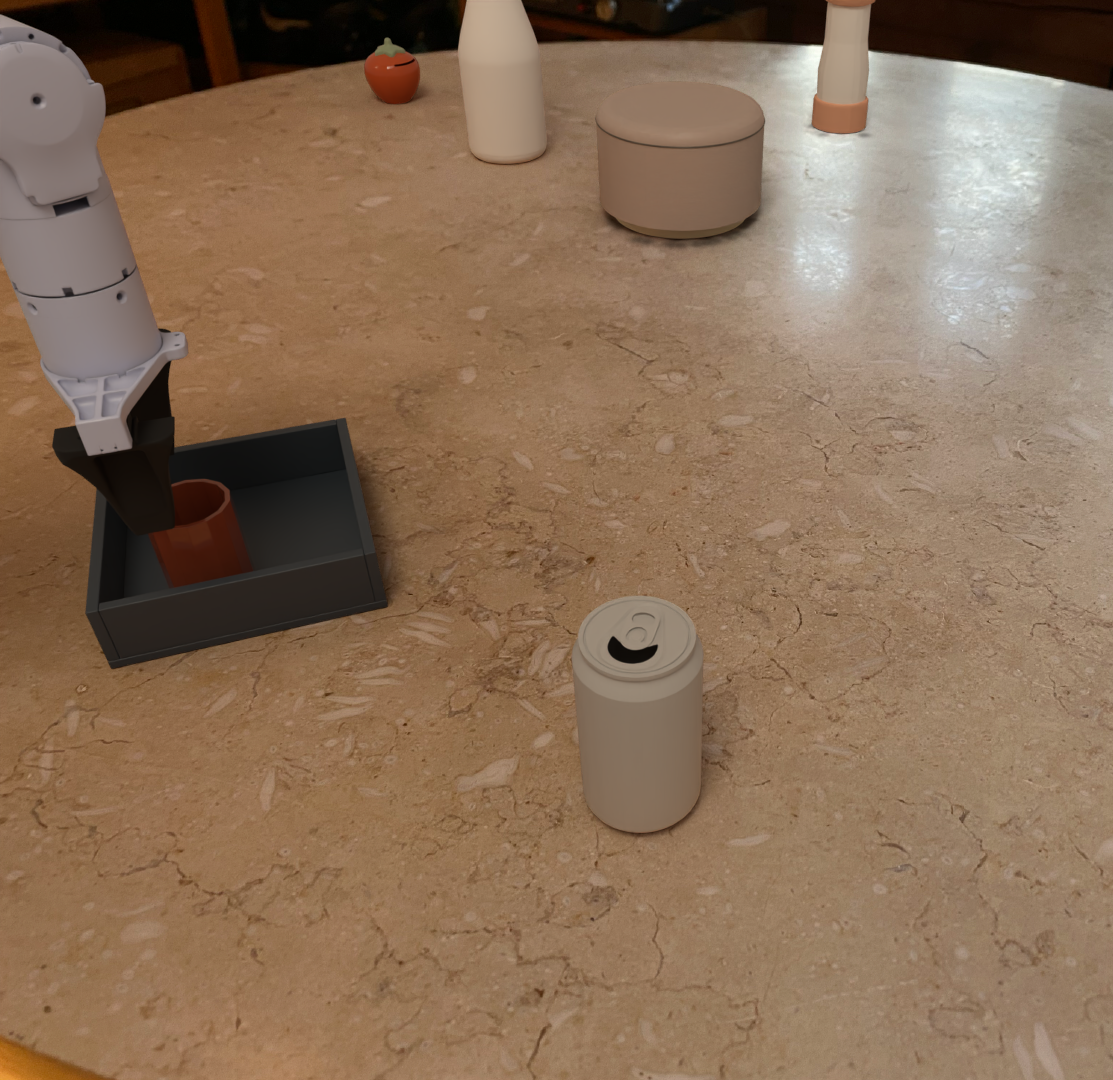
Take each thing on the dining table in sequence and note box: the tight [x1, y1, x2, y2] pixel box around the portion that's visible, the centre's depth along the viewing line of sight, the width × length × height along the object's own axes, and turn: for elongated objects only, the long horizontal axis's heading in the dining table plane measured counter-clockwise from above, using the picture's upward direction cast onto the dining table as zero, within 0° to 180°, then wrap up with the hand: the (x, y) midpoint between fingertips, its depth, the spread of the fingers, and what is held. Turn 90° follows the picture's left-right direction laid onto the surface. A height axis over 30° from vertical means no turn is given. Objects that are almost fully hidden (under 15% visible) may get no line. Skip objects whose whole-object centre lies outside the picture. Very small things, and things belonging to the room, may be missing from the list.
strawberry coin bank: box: [363, 37, 421, 105], centre depth 148 cm, size 7×7×8 cm
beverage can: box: [571, 595, 705, 834], centre depth 56 cm, size 6×6×12 cm
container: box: [594, 80, 766, 240], centre depth 118 cm, size 18×18×12 cm
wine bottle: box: [457, 0, 548, 165], centre depth 126 cm, size 10×10×30 cm
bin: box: [84, 417, 389, 669], centre depth 73 cm, size 16×16×5 cm
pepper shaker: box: [811, 0, 876, 134], centre depth 140 cm, size 7×7×19 cm
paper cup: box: [148, 479, 255, 589], centre depth 68 cm, size 5×5×7 cm
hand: (155, 490), depth 64 cm, fingers open, 7 cm apart
